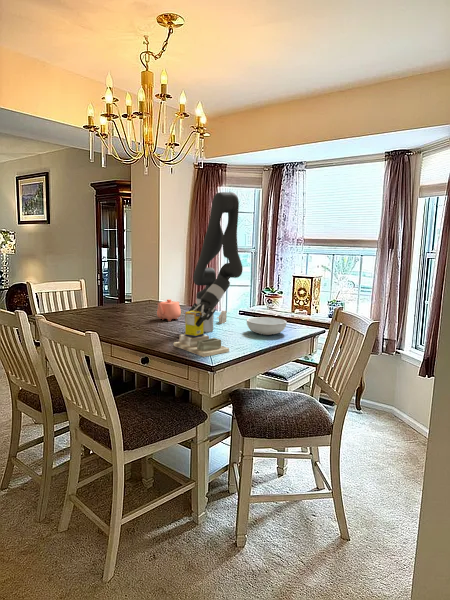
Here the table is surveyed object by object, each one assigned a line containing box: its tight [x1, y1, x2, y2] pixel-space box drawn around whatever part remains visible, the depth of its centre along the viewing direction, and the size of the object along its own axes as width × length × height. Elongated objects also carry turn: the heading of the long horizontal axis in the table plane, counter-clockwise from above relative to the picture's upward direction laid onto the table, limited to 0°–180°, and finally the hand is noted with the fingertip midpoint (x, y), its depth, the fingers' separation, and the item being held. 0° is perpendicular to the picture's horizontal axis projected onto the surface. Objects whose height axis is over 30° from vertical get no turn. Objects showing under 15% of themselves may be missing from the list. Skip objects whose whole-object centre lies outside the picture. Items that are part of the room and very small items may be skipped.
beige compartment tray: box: [173, 333, 230, 358], centre depth 184 cm, size 22×14×5 cm, turn 41°
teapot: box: [156, 298, 182, 322], centre depth 246 cm, size 20×12×12 cm, turn 148°
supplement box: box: [184, 310, 204, 337], centre depth 186 cm, size 6×6×11 cm
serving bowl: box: [246, 316, 287, 336], centre depth 218 cm, size 21×21×7 cm
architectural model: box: [216, 310, 228, 325], centre depth 242 cm, size 3×7×7 cm, turn 153°
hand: (191, 324), depth 185 cm, fingers closed on supplement box, 7 cm apart
